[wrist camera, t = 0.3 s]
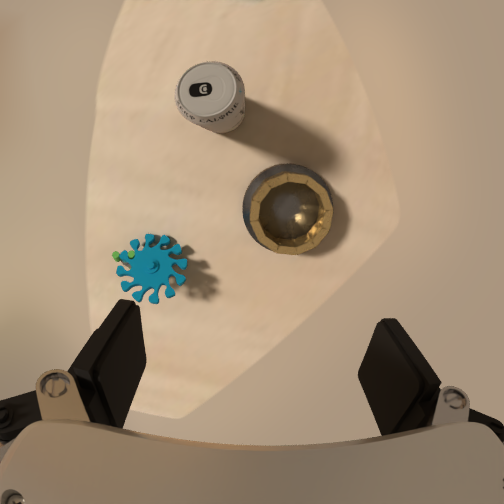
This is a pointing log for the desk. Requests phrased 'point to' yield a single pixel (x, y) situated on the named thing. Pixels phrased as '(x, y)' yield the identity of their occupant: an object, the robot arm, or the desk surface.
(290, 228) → the carrier
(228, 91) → the energy drink can
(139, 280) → the gear
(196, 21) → the desk surface
